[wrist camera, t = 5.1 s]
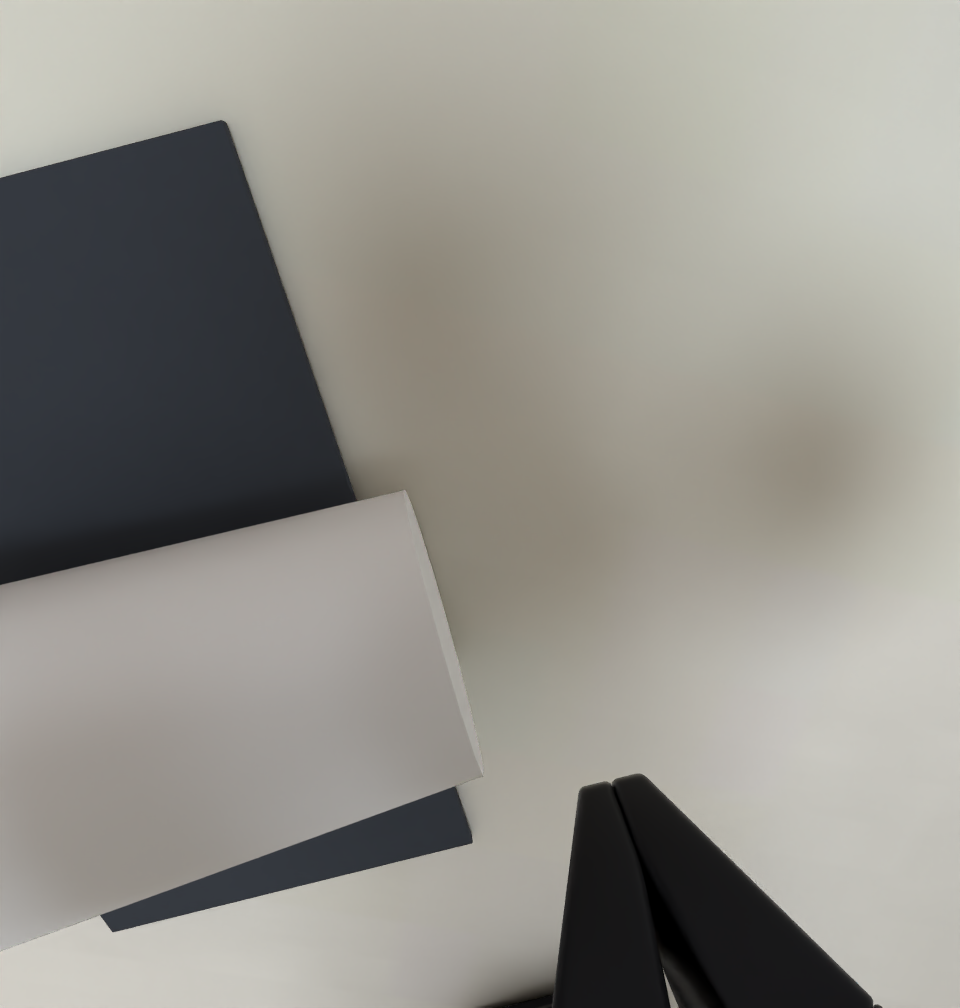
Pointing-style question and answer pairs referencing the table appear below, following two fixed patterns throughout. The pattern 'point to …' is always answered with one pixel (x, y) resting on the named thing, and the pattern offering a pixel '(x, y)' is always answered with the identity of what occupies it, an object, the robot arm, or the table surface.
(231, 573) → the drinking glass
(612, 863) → the robot arm
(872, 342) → the table surface
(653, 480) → the table surface
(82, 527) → the rubber mat
